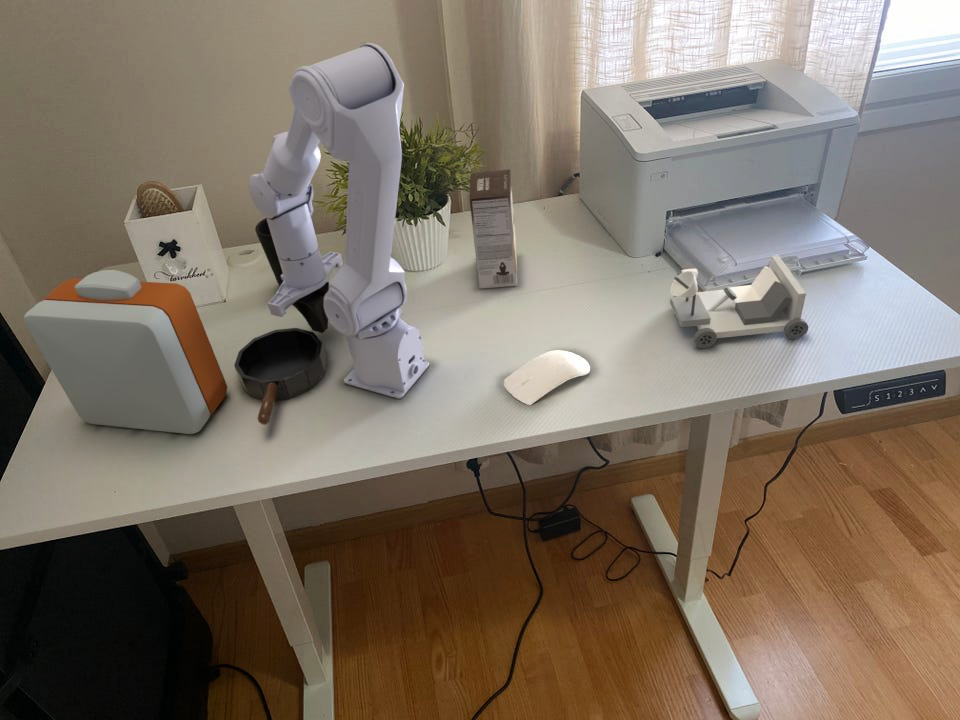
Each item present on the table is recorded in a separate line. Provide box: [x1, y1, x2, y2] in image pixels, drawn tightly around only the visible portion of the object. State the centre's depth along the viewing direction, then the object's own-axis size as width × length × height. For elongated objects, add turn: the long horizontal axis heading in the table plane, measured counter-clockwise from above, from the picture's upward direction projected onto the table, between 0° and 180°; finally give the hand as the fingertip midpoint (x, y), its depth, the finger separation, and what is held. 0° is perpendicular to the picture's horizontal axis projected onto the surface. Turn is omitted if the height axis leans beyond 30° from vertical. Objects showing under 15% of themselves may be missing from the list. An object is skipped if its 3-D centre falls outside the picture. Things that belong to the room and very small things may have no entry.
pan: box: [233, 327, 328, 425], centre depth 101 cm, size 19×12×4 cm, turn 3°
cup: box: [254, 217, 284, 287], centre depth 119 cm, size 8×8×12 cm
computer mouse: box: [503, 349, 591, 406], centre depth 98 cm, size 7×12×2 cm, turn 121°
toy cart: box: [669, 254, 809, 349], centre depth 102 cm, size 18×10×12 cm
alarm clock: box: [23, 269, 228, 435], centre depth 95 cm, size 18×9×21 cm, turn 77°
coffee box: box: [469, 168, 518, 289], centre depth 116 cm, size 9×6×16 cm
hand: (320, 329), depth 110 cm, fingers closed
